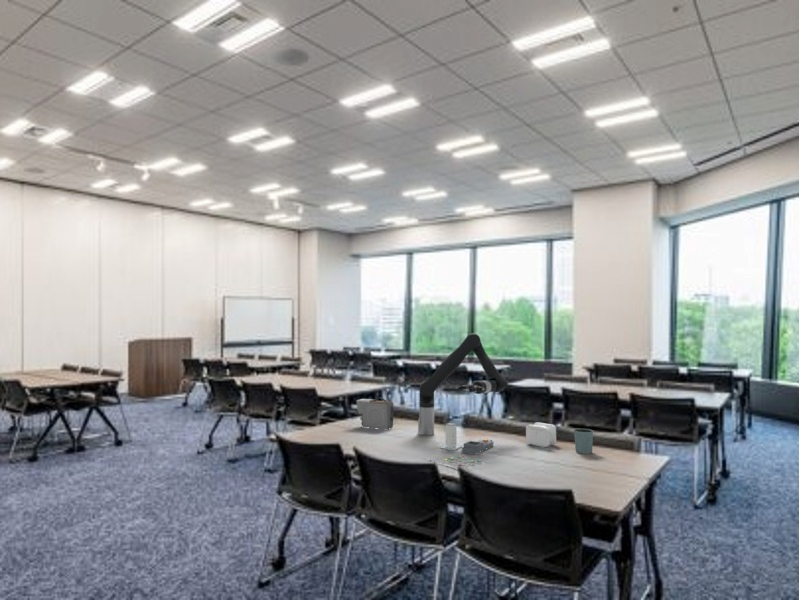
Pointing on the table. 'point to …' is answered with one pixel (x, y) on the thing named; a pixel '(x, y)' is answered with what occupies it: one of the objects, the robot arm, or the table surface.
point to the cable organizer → (541, 434)
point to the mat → (451, 448)
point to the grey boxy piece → (376, 413)
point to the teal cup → (583, 440)
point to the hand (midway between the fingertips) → (464, 389)
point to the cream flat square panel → (463, 458)
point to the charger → (451, 435)
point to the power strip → (476, 446)
